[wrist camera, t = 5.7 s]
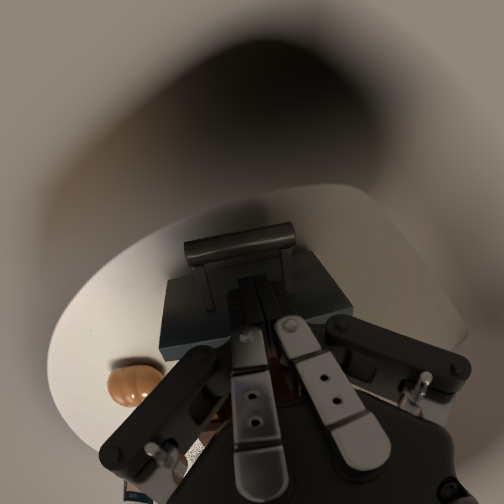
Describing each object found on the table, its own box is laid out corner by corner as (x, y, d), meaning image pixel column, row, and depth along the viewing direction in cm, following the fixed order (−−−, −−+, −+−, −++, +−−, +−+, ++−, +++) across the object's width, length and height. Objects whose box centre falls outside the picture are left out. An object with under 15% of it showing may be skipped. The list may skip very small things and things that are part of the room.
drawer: (150, 223, 19) (126, 279, 12) (308, 193, 20) (358, 232, 13) (207, 383, 27) (213, 442, 21) (312, 360, 28) (336, 414, 22)
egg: (121, 384, 27) (116, 415, 23) (104, 359, 25) (96, 392, 21) (172, 379, 28) (172, 412, 24) (158, 353, 25) (155, 388, 22)
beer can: (119, 444, 34) (116, 505, 24) (142, 442, 34) (142, 507, 24) (136, 454, 36) (135, 511, 26) (158, 453, 36) (159, 513, 26)
